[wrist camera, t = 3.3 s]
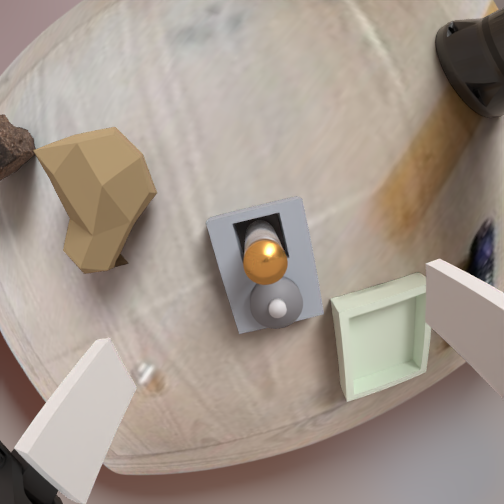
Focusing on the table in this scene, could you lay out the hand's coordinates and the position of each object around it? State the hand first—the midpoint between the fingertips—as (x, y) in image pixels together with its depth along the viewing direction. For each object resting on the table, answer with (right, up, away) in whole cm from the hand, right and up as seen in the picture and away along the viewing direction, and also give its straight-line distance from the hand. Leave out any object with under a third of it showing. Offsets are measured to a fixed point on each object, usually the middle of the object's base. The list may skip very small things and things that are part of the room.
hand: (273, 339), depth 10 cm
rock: (-32, +16, +16) cm, 39 cm away
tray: (+16, -7, +22) cm, 28 cm away
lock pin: (0, +5, +19) cm, 20 cm away
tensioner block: (+1, +2, +20) cm, 20 cm away
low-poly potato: (-15, +9, +18) cm, 25 cm away
